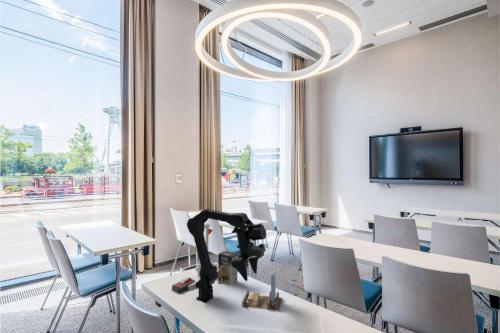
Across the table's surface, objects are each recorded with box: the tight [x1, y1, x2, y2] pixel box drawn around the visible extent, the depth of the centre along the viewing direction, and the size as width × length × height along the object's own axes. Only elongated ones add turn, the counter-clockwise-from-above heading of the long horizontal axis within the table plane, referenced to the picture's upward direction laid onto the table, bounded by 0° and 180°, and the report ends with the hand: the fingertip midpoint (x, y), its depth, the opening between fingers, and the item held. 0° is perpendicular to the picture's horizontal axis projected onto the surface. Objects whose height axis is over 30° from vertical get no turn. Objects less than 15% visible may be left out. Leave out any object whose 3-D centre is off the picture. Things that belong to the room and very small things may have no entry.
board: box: [270, 269, 277, 306], centre depth 126 cm, size 2×6×14 cm, turn 170°
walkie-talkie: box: [171, 276, 198, 294], centre depth 146 cm, size 9×4×20 cm
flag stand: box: [195, 223, 218, 278], centre depth 162 cm, size 13×13×30 cm
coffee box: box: [217, 250, 239, 286], centre depth 149 cm, size 9×6×16 cm
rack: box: [241, 290, 283, 312], centre depth 127 cm, size 17×12×3 cm
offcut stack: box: [246, 291, 260, 306], centre depth 128 cm, size 5×8×2 cm, turn 170°
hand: (251, 276), depth 121 cm, fingers open, 9 cm apart
